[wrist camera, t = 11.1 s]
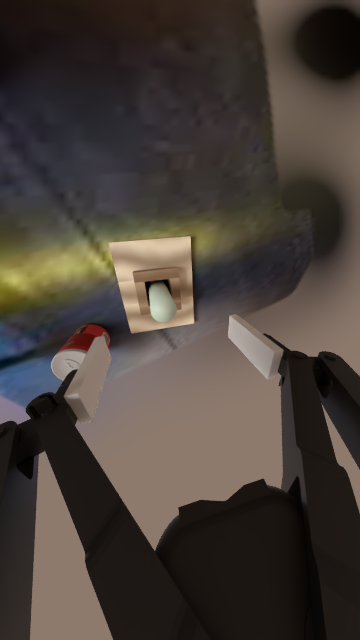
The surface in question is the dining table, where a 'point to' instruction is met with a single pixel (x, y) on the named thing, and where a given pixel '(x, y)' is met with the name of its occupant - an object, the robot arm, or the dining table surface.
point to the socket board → (153, 260)
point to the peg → (161, 302)
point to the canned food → (76, 349)
